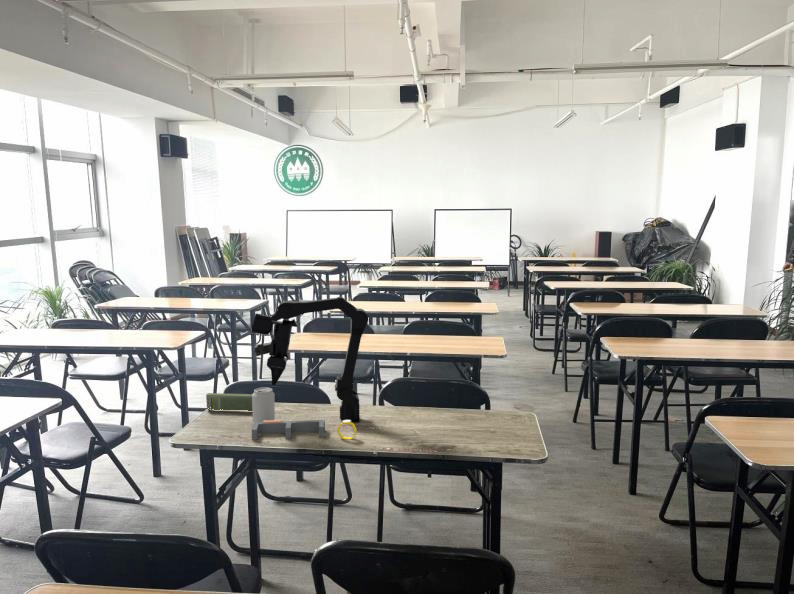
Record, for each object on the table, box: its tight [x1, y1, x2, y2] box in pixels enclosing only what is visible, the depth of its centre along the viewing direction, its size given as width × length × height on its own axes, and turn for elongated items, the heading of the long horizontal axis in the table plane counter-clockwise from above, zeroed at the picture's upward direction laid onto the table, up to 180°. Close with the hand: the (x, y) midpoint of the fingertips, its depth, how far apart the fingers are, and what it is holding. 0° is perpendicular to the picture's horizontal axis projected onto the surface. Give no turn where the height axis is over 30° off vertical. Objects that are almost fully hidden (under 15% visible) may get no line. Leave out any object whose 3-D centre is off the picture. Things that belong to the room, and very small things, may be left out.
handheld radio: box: [205, 392, 253, 411], centre depth 213 cm, size 7×3×25 cm
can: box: [251, 387, 276, 424], centre depth 200 cm, size 8×8×12 cm
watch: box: [337, 420, 357, 440], centre depth 185 cm, size 6×3×6 cm, turn 77°
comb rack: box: [251, 419, 326, 441], centre depth 188 cm, size 23×7×4 cm, turn 97°
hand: (274, 381), depth 199 cm, fingers open, 9 cm apart
